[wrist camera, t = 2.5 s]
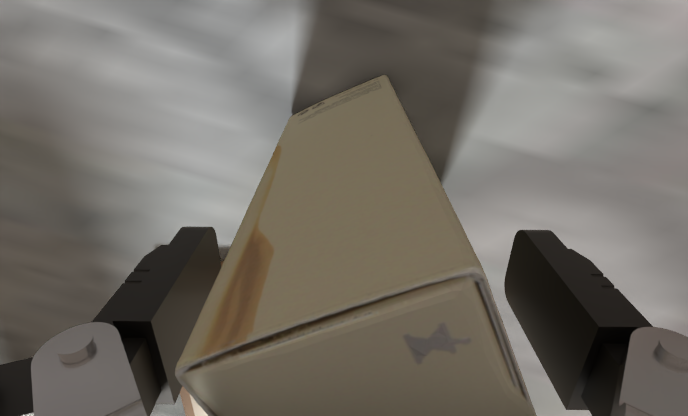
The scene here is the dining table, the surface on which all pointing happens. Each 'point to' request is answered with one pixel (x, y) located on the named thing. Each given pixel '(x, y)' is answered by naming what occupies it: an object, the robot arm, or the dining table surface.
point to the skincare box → (352, 284)
